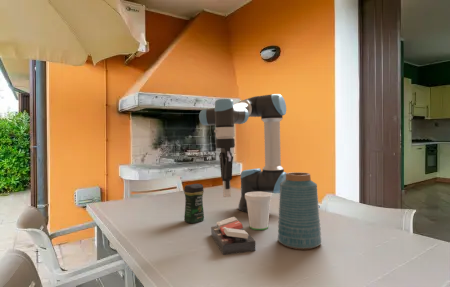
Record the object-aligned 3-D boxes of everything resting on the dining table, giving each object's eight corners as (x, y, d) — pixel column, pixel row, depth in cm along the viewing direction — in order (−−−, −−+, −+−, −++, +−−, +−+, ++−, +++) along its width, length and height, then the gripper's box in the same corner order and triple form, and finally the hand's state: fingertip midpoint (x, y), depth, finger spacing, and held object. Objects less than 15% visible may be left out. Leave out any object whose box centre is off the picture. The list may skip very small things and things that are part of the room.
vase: (315, 254, 94) (314, 177, 94) (271, 245, 103) (270, 175, 102) (325, 239, 108) (324, 172, 108) (286, 232, 116) (284, 170, 116)
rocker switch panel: (233, 227, 125) (233, 217, 125) (255, 250, 98) (255, 238, 98) (208, 229, 122) (208, 219, 122) (223, 254, 95) (222, 241, 95)
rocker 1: (234, 220, 116) (233, 216, 116) (238, 223, 112) (237, 219, 112) (217, 226, 114) (216, 222, 114) (219, 229, 110) (218, 225, 110)
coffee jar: (192, 224, 130) (191, 186, 130) (181, 221, 135) (181, 184, 135) (207, 220, 137) (206, 183, 137) (196, 217, 142) (196, 182, 142)
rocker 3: (243, 234, 104) (244, 229, 104) (247, 238, 99) (248, 233, 99) (223, 231, 102) (224, 227, 102) (226, 235, 97) (227, 231, 97)
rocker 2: (239, 224, 110) (238, 220, 110) (242, 227, 105) (241, 223, 105) (220, 231, 108) (219, 226, 108) (223, 234, 104) (222, 230, 103)
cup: (274, 224, 128) (274, 192, 128) (270, 232, 117) (269, 197, 116) (249, 222, 132) (248, 190, 132) (242, 230, 121) (241, 196, 121)
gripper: (212, 138, 114) (214, 194, 115) (219, 138, 102) (221, 201, 102) (229, 137, 116) (231, 192, 117) (239, 137, 103) (240, 199, 104)
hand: (227, 196), depth 109 cm, fingers closed
